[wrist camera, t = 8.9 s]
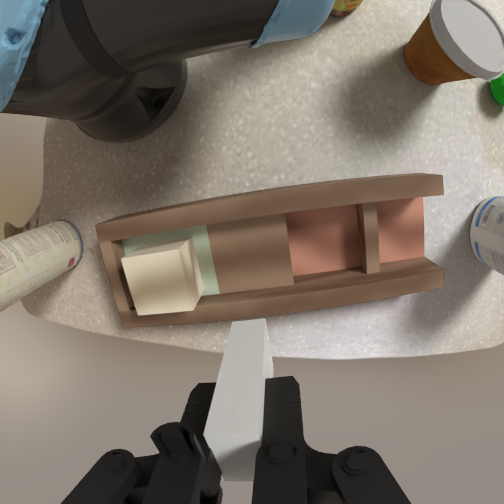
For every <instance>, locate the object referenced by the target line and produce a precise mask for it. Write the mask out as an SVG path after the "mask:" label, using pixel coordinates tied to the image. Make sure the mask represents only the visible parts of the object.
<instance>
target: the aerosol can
mask: <svg viewBox="0 0 504 504" xmlns="http://www.w3.org/2000/svg"><path fill="white" fill-rule="evenodd" d="M82 253H83V242H82V239H81V236H80V233H79V232H78V230H77V228H76V227H75V226H74V225H73V224H72V223H70V222H68V221H66V220H58V221H55V222H52V223H49V224H46V225H43V226H40V227H37V228H34V229H31V230H29V231H26V232H23V233H20V234H17V235H15V236H12V237H9V238H6V239H4V240H1V241H0V312H1V311H3V310H5V309H6V308H8V307H9V306H11V305H12V304H14V303H15V302H17V301H19V300H20V299H22V298H23V297H25V296H26V295H28V294H30V293H31V292H33V291H34V290H36V289H38V288H39V287H41V286H43V285H44V284H46V283H48V282H49V281H51V280H53V279H54V278H56V277H58V276H59V275H61V274H63V273H64V272H66V271H68V270H69V269H71V268H73V267H75V266H76V265H77V264H78V263H79V262H80V260H81V258H82Z"/></svg>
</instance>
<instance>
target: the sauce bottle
mask: <svg viewBox="0 0 504 504" xmlns="http://www.w3.org/2000/svg"><path fill="white" fill-rule="evenodd" d="M361 2H362V0H335V3H334V5H333V8H332V10H331V12H330V14H332V15H337V16H339V15H340V16H341V15H347V14H350V13H351V12H353V11H354V10H356V8H357V7H358V6H359V5H360V4H361Z"/></svg>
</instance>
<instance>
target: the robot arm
mask: <svg viewBox="0 0 504 504" xmlns="http://www.w3.org/2000/svg"><path fill="white" fill-rule="evenodd" d="M334 3H335V0H0V113H11V114H22V115H32V116H42V117H50V118H58V119H66V120H71V121H72V122H74V123H75V124H76V125H77V126H78V127H79V128H80V130H82V131H83V132H84V133H85V134H87V135H88V136H90V137H92V138H94V139H97V140H100V141H106V142H115V143H122V142H129V141H133V140H137V139H139V138H142V137H144V136H146V135H148V134H149V133H151V132H152V131H154V130H155V129H157V128H158V127H159V126H160V125H161V124H163V123H164V122H165V121H166V119H167V118H168V117H169V116H170V115H171V114H172V112H173V111H174V109H175V108H176V106H177V105H178V103H179V101H180V99H181V97H182V94H183V92H184V88H185V85H186V79H187V63H186V59H187V58H191V57H196V56H200V55H205V54H210V53H215V52H220V51H225V50H231V49H237V48H244V47H248V48H249V49H252V48H257V47H259V46H261V45H262V44H265V43H271V42H278V41H285V40H293V39H300V38H304V37H307V36H309V35H311V34H313V33H314V32H315V31H316V30H317V29H319V28H320V27H321V25H322V24H323V23H324V22H325V20H326V19H327V18H328V16H329V14H330V12H331V10H332V8H333V5H334ZM150 437H151V439H152V440H153V442H154V444H155V445H156V447H157V449H158V450H159V452H160V453H159V454H155V455H150V456H143V457H134V456H133V454H132V453H130V452H129V451H127V450H123V449H114V450H111V451H109V452H107V453H105V454H104V455H103V456H102V457H101V458H100V459H99V460H98V461H97V462H96V464H95V465H94V466H93V467H92V469H91V470H90V471H89V472H88V473H87V474H86V475H85V476H84V477H83V479H82V480H81V481H80V482H79V483H78V485H77V486H76V487H75V488H74V489H73V490H72V491H71V493H70V494H69V495H68V496H67V497H66V498H65V499H64V500H63V502H62V503H61V504H221V501H222V495H223V494H222V488H221V486H220V480H221V474H222V476H223V478H224V480H225V481H254V484H253V494H252V504H411V503H410V501H409V500H408V498H407V497H406V495H405V494H404V492H403V490H402V489H401V487H400V486H399V484H398V483H397V481H396V480H395V478H394V477H393V475H392V474H391V472H390V471H389V469H388V468H387V466H386V464H385V463H384V462H383V460H382V458H381V457H380V455H379V454H378V453H377V452H376V451H375V450H373V449H371V448H368V447H365V446H354V447H349V448H347V449H345V450H343V451H341V452H339V453H338V454H329V453H323V452H318V451H316V450H314V449H312V448H311V447H309V446H308V445H307V443H306V442H305V440H304V435H303V422H302V411H301V399H300V390H299V384H298V382H297V381H296V380H295V378H294V377H293V376H287V377H278V378H273V363H272V356H271V349H270V343H269V337H268V330H267V324H266V318H264V319H255V320H245V321H235V322H232V325H231V329H230V333H229V336H228V340H227V344H226V348H225V352H224V356H223V360H222V364H221V368H220V371H219V375H218V379H217V382H216V383H199V384H198V385H197V386H196V387H195V388H194V389H193V390H192V391H191V393H190V396H189V399H188V403H187V404H186V407H185V411H184V413H183V416H182V419H181V422H180V423H179V422H172V423H167V424H164V425H161V426H159V427H158V428H157V429H156V430H154V431H153V433H152V434H151V436H150Z"/></svg>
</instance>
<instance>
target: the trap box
mask: <svg viewBox="0 0 504 504" xmlns="http://www.w3.org/2000/svg"><path fill="white" fill-rule="evenodd" d="M437 195H444V189H443V176H442V175H436V174H425V173H412V174H398V175H386V176H374V177H364V178H354V179H344V180H335V181H326V182H318V183H310V184H302V185H294V186H286V187H279V188H272V189H265V190H258V191H252V192H245V193H239V194H233V195H227V196H221V197H215V198H209V199H203V200H198V201H192V202H187V203H182V204H176V205H171V206H166V207H161V208H156V209H151V210H146V211H141V212H137V213H132V214H127V215H123V216H118V217H116V218H113V219H110V220H107V221H105V222H102V223H100V224H97V225H95V227H96V232H97V236H98V240H99V244H100V248H101V252H102V256H103V260H104V264H105V267H106V271H107V274H108V278H109V281H110V285H111V288H112V291H113V295H114V298H115V301H116V304H117V307H118V310H119V313H120V316H121V319H122V322H123V325H124V327H139V326H158V325H174V324H189V323H202V322H213V321H224V320H235V319H245V318H254V317H263V316H272V315H280V314H288V313H296V312H303V311H310V310H317V309H324V308H331V307H338V306H344V305H350V304H356V303H362V302H368V301H374V300H380V299H385V298H391V297H396V296H401V295H406V294H411V293H416V292H421V291H426V290H431V289H436V288H440V287H443V279H444V269H442V268H441V267H439V266H438V265H436V264H435V263H433V262H432V261H430V260H429V259H427V258H426V257H424V213H423V197H426V196H437ZM187 237H192V239H193V243H194V248H195V252H196V257H197V261H198V265H199V270H200V274H201V278H202V282H203V287H204V292H203V293H202V295H201V297H200V299H199V301H198V303H197V304H196V306H195V308H194V310H193V311H183V312H173V313H162V314H150V315H138V314H137V311H136V308H135V305H134V302H133V298H132V295H131V292H130V289H129V285H128V282H127V279H126V275H125V272H124V268H123V265H122V261H121V258H123V257H124V256H126V255H127V254H129V253H130V252H132V251H134V250H135V249H137V248H138V247H140V246H141V245H147V244H152V243H158V242H164V241H169V240H175V239H181V238H187Z"/></svg>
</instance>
